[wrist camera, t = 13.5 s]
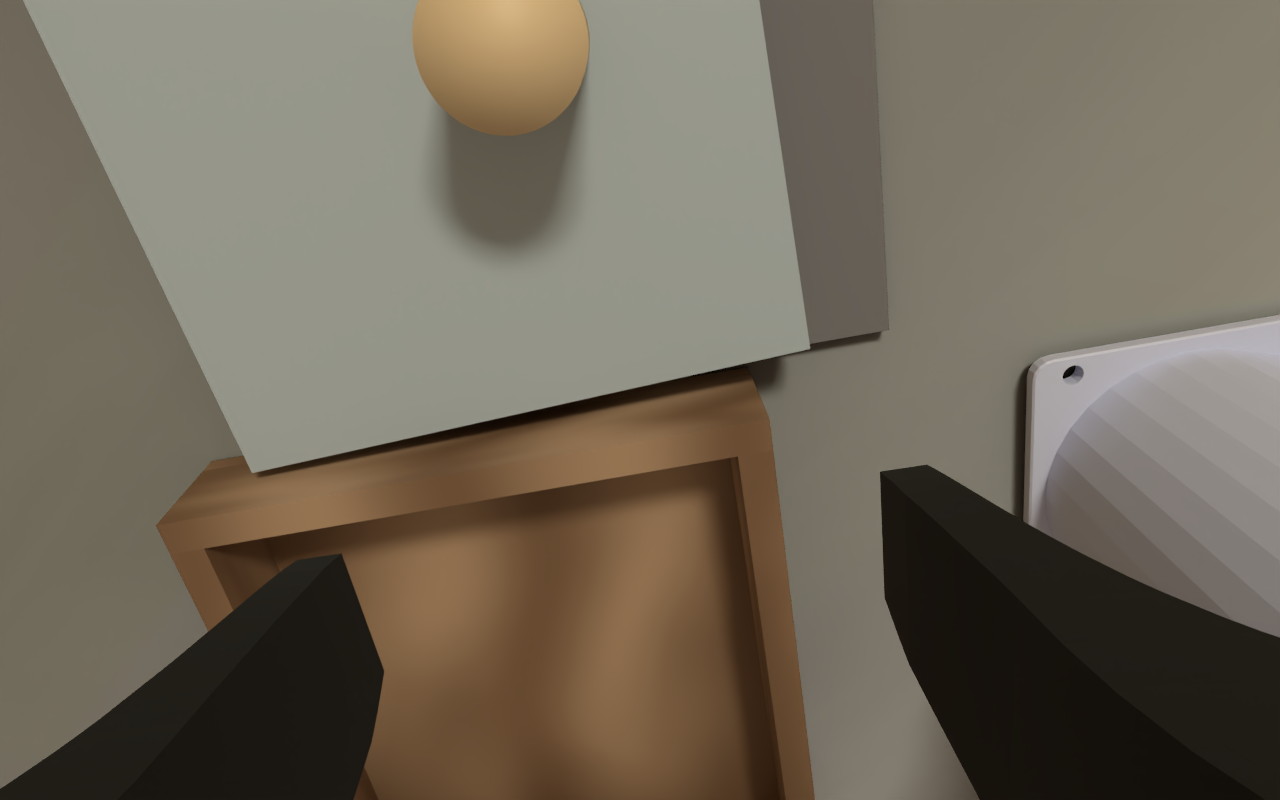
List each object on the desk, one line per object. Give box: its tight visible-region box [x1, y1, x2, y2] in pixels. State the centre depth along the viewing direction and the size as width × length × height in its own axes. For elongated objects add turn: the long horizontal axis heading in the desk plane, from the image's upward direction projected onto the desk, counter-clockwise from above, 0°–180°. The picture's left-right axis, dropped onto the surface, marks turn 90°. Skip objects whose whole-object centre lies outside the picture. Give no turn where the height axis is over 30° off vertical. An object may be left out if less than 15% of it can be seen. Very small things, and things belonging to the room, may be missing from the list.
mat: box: [759, 0, 889, 344], centre depth 17 cm, size 15×17×1 cm
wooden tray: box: [156, 367, 815, 800], centre depth 23 cm, size 14×21×6 cm, turn 10°
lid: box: [23, 0, 810, 473], centre depth 16 cm, size 13×15×4 cm
